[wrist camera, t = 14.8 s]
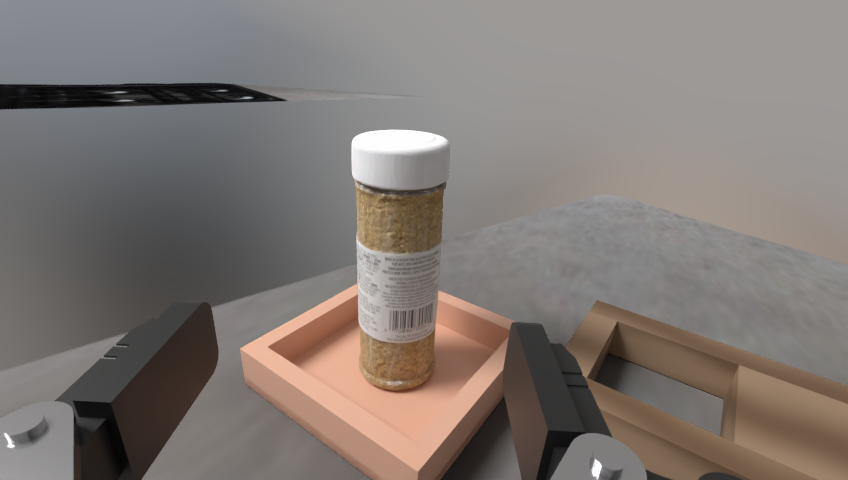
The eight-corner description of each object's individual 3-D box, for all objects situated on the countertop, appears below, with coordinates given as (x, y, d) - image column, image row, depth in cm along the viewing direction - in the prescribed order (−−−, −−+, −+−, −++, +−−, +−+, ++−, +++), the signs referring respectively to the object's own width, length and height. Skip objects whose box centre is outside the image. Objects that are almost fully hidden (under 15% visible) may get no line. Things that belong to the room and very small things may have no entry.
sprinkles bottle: (429, 340, 28) (442, 128, 22) (440, 392, 23) (460, 147, 18) (357, 343, 27) (352, 125, 21) (356, 397, 23) (349, 145, 17)
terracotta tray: (384, 296, 33) (384, 268, 32) (529, 362, 27) (535, 329, 26) (245, 384, 24) (239, 348, 23) (415, 512, 18) (417, 471, 17)
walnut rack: (589, 330, 30) (596, 300, 29) (1124, 534, 19) (1169, 496, 18) (534, 417, 23) (542, 381, 22) (1373, 853, 11) (1477, 820, 10)
